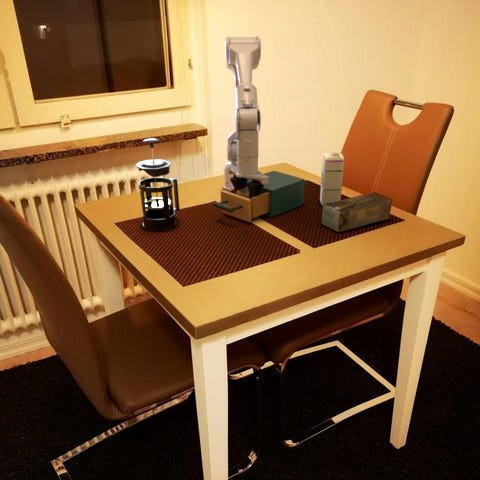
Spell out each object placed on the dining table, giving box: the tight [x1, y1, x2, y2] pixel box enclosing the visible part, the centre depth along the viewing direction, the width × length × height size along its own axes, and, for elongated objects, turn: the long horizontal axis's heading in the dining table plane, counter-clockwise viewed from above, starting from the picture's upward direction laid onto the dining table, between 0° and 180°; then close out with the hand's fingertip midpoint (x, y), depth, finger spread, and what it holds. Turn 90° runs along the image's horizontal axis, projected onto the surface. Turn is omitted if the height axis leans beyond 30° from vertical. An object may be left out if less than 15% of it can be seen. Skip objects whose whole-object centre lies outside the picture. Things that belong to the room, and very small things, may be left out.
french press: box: [136, 138, 180, 232], centre depth 132 cm, size 12×9×23 cm
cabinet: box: [247, 170, 306, 218], centre depth 148 cm, size 14×12×8 cm
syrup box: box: [319, 152, 345, 207], centre depth 148 cm, size 6×6×14 cm
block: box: [237, 187, 250, 199], centre depth 141 cm, size 4×4×5 cm
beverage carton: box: [321, 191, 393, 233], centre depth 137 cm, size 8×19×7 cm, turn 119°
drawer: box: [212, 185, 270, 223], centre depth 141 cm, size 18×11×6 cm, turn 134°
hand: (247, 203), depth 142 cm, fingers closed on block, 4 cm apart
